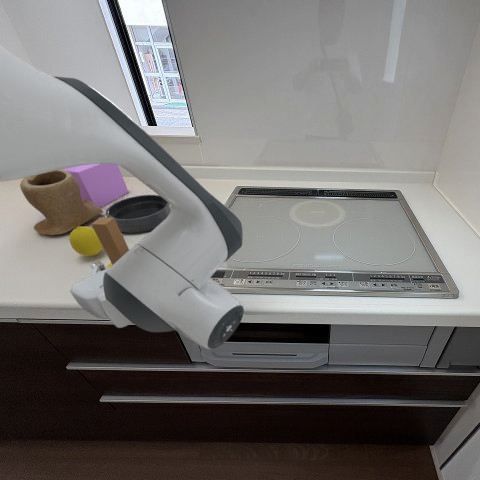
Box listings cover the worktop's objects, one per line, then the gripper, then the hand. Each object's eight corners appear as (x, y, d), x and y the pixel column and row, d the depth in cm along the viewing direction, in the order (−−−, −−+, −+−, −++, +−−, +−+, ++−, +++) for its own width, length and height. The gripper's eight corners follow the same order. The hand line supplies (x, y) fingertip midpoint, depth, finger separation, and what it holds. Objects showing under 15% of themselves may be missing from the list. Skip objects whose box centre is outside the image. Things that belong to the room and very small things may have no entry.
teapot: (143, 184, 96) (129, 144, 88) (81, 217, 76) (56, 170, 68) (106, 180, 98) (89, 141, 90) (36, 211, 77) (6, 164, 70)
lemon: (75, 258, 61) (56, 229, 57) (100, 246, 65) (85, 218, 61) (88, 265, 59) (70, 236, 55) (114, 252, 63) (99, 224, 59)
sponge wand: (112, 282, 55) (81, 226, 47) (123, 270, 59) (96, 215, 51) (137, 283, 56) (109, 226, 48) (147, 270, 59) (122, 215, 51)
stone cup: (66, 242, 66) (31, 186, 57) (29, 234, 68) (-10, 179, 60) (118, 214, 78) (95, 164, 70) (85, 208, 80) (60, 159, 72)
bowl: (99, 234, 69) (92, 219, 67) (132, 207, 82) (126, 194, 79) (158, 235, 70) (153, 220, 68) (181, 208, 83) (178, 195, 80)
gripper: (213, 239, 50) (170, 217, 56) (88, 307, 36) (49, 268, 42) (219, 265, 54) (178, 241, 60) (107, 336, 40) (68, 295, 46)
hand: (124, 253), depth 51 cm, fingers open, 8 cm apart
